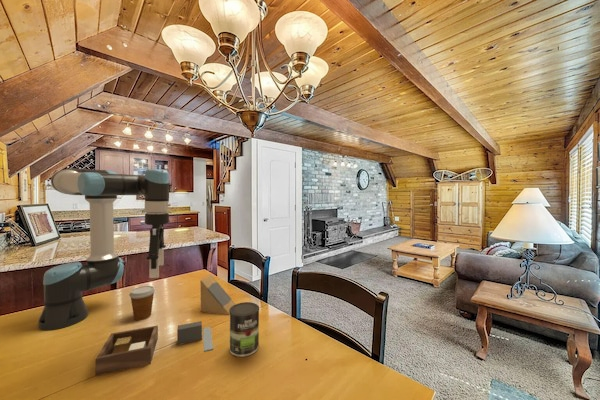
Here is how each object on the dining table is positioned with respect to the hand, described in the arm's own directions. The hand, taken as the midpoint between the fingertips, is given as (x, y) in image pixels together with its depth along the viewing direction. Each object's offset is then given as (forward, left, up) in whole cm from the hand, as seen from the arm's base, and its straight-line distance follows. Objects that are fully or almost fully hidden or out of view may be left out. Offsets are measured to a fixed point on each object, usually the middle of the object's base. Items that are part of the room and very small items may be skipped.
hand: (156, 271), depth 89 cm
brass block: (+4, -9, -25) cm, 27 cm away
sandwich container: (-18, +23, -27) cm, 40 cm away
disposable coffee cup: (-23, -9, -26) cm, 36 cm away
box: (+7, -7, -26) cm, 28 cm away
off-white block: (+9, -4, -25) cm, 27 cm away
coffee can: (+15, +29, -26) cm, 42 cm away
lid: (+5, +11, -27) cm, 29 cm away
